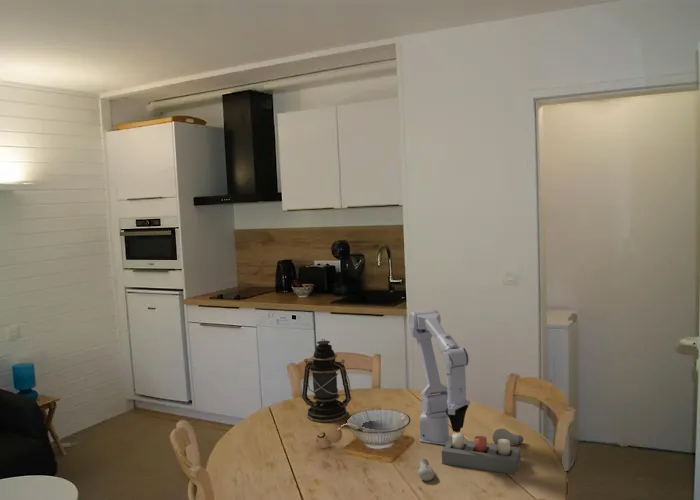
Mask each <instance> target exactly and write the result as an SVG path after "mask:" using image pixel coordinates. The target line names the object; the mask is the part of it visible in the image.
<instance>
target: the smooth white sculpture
mask: <svg viewBox="0 0 700 500" xmlns="http://www.w3.org/2000/svg"><path fill="white" fill-rule="evenodd" d="M417 475H418V477H419V478H420V479H421V480H422V481H424V482H429V481H431V480H433V478H434V477H435V475H436V472H435V470H434V469H433V468H432V466H431V465H430V462H429V460H428V459H426V458H422V459H420V460H419V462H418V464H417Z"/></svg>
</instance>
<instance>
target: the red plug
mask: <svg viewBox="0 0 700 500" xmlns="http://www.w3.org/2000/svg"><path fill="white" fill-rule="evenodd" d="M474 442H475V451H477V452H486V451H487V443H488V440H487V437H486V436H483V435H476V436H475V437H474Z"/></svg>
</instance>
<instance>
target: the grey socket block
mask: <svg viewBox="0 0 700 500" xmlns="http://www.w3.org/2000/svg"><path fill="white" fill-rule="evenodd" d="M521 460H522V459H521V447H519V446H512V445H510V455H507V456H504V455H500V454H498V445H497V444H495V443H488V442H487V451H486V452H477V451H475V440H466V439H464V448H463V449H455V448H453V442H452V438H450V439H449V441H448V442H447V444H446V445H444V446H443V448H442V450H441V464H444V465H449V466H457V467H462V468H463V467H464V468H468V469H469V468H470V469H478V470H483V471H488V472H489V471H490V472H495V473H496V472H498V473H503V474H509V475H516V474H517V471H518V468H519V466H520V463H521Z"/></svg>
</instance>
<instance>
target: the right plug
mask: <svg viewBox="0 0 700 500" xmlns="http://www.w3.org/2000/svg"><path fill="white" fill-rule="evenodd" d="M510 446H511V445H510V441H509V440H508V439H499V440H498V454H500V455H504V456H507V455H510Z"/></svg>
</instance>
